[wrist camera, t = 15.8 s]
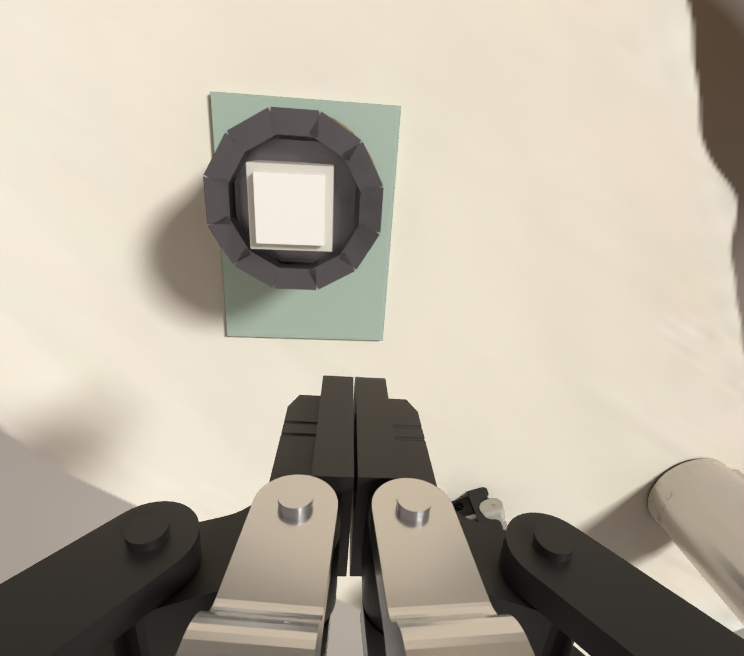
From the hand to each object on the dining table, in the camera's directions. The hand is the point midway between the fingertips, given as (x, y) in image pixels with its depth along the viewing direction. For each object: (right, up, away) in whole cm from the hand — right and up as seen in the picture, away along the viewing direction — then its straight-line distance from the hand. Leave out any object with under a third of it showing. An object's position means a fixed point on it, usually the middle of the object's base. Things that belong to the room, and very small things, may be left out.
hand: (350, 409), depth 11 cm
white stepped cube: (-4, +9, +14) cm, 18 cm away
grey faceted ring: (-4, +12, +22) cm, 26 cm away
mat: (-4, +10, +23) cm, 25 cm away
